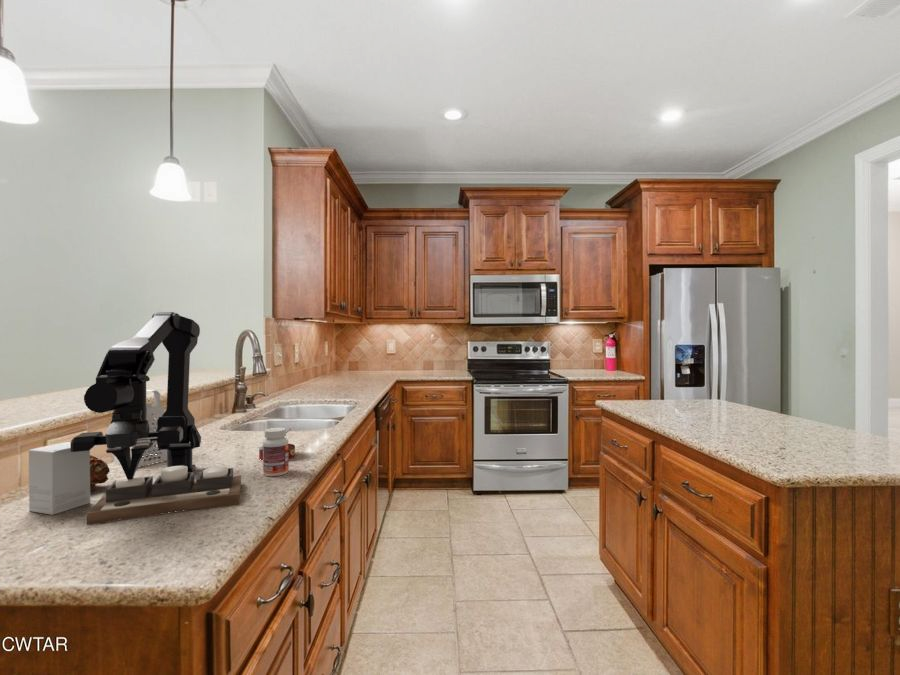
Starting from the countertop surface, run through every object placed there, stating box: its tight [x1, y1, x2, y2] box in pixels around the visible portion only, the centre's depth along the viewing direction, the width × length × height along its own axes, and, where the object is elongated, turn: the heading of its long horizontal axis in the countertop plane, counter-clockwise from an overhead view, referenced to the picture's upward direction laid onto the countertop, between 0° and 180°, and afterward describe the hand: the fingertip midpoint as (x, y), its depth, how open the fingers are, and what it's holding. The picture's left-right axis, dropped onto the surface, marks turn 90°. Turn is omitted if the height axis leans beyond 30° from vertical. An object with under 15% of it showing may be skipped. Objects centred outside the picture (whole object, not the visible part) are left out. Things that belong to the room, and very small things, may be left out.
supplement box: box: [28, 441, 91, 516], centre depth 95 cm, size 7×7×13 cm
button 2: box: [202, 466, 228, 479], centre depth 102 cm, size 5×5×2 cm
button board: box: [86, 467, 242, 525], centre depth 97 cm, size 14×26×4 cm, turn 113°
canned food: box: [258, 428, 296, 461], centre depth 133 cm, size 11×10×10 cm
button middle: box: [160, 466, 188, 483], centre depth 99 cm, size 5×5×2 cm
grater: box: [113, 389, 167, 468], centre depth 129 cm, size 10×10×20 cm
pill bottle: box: [262, 427, 289, 477], centre depth 117 cm, size 6×6×11 cm
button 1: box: [116, 474, 146, 488], centre depth 96 cm, size 5×5×2 cm
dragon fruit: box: [90, 454, 111, 491], centre depth 105 cm, size 8×8×12 cm
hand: (130, 479), depth 96 cm, fingers closed, pressing on button 1
